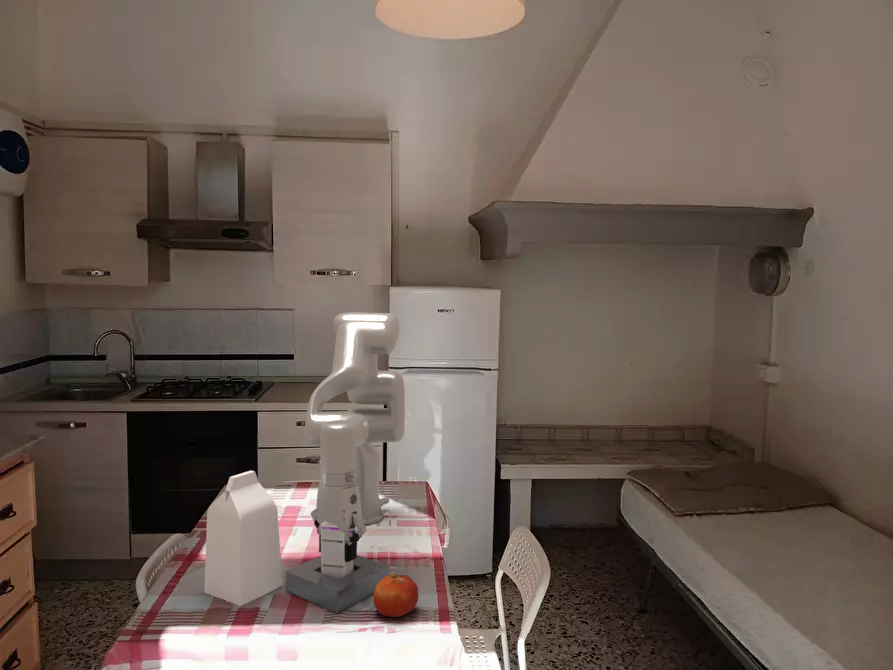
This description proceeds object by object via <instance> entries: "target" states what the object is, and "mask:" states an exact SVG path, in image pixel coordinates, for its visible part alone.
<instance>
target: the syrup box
mask: <svg viewBox="0 0 893 670" xmlns="http://www.w3.org/2000/svg"><path fill="white" fill-rule="evenodd" d="M349 529H350V527H349ZM349 534H350V537H352V533H351V531H350V532H349ZM345 544H347V542H346V539H345V533H344V532H341V531H339V528H338V526H337V525H336V524H334V523H331V522H326V521H324V522H323V523H322V524H321V552H320V556H321V573H322V574H325V575H327V576H330V577H332V578H335V579H337V580H338V579H340V578H342V577H344V576H346V575H348V574H350V573H352V572H354V560H352V561H349V562H345Z"/></svg>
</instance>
